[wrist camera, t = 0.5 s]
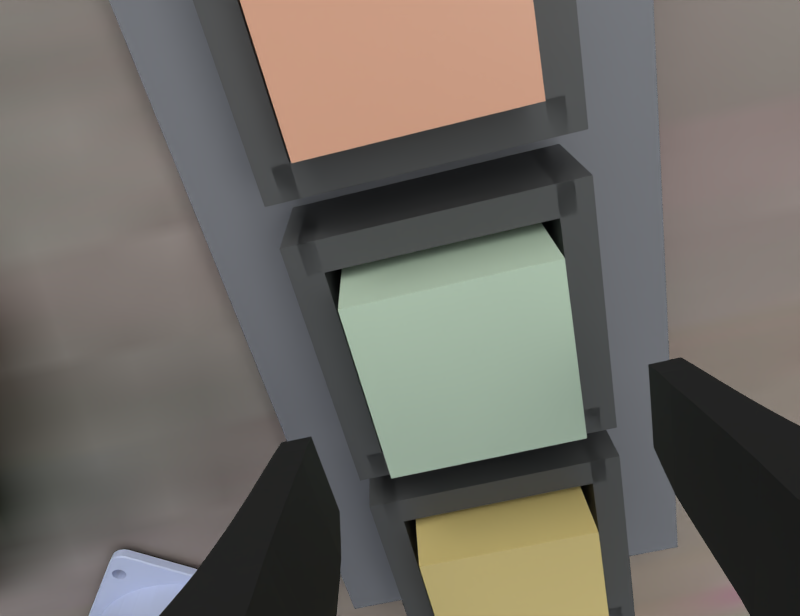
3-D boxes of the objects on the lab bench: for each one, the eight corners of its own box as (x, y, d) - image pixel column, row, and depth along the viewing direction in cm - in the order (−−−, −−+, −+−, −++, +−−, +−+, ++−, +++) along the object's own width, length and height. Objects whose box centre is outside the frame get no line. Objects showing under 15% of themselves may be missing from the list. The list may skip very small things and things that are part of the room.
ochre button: (588, 577, 21) (612, 645, 19) (445, 604, 22) (453, 674, 19) (573, 469, 19) (598, 532, 17) (414, 501, 19) (419, 566, 17)
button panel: (655, 505, 25) (713, 615, 21) (355, 565, 26) (352, 681, 22) (605, -289, 14) (706, -401, 10) (85, -139, 15) (-29, -182, 11)
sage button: (561, 381, 18) (587, 438, 15) (389, 417, 18) (391, 478, 16) (538, 218, 15) (565, 258, 13) (342, 263, 16) (337, 309, 14)
